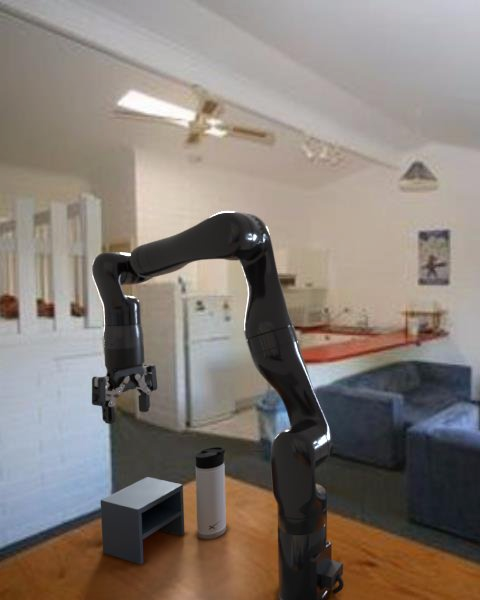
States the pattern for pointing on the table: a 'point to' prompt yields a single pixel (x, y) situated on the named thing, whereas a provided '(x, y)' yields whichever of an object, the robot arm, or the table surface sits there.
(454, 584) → the table surface
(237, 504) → the table surface
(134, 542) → the shelf
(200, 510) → the travel mug
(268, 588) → the table surface
